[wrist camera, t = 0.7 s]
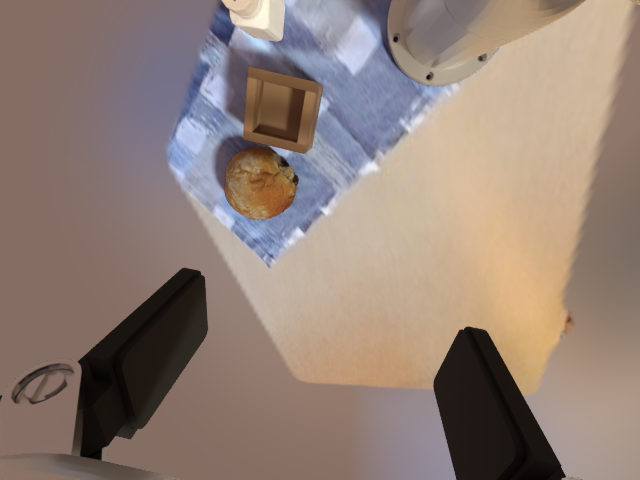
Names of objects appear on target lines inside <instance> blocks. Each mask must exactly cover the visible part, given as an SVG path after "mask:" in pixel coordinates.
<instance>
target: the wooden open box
mask: <svg viewBox="0 0 640 480" xmlns="http://www.w3.org/2000/svg"><path fill="white" fill-rule="evenodd" d="M322 91H323V86H322V85H320V84H319V83H317V82H314V81H309V80H305V79H301V78H296V77H292V76H288V75H284V74H279V73H275V72H271V71H266V70H262V69H258V68H253V67H248V80H247V93H246V106H245V119H244V132H243V139H244V140H248V141H253V142H257V143H261V144H265V145H269V146H273V147H278V148H282V149H286V150H290V151H294V152H298V153H303V154H305V153H306V152H307V151H308V150H310V149H311V148H312V145H313V139H314V134H315V129H316V123H317V118H318V113H319V107H320V102H321V97H322Z"/></svg>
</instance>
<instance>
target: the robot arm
mask: <svg viewBox="0 0 640 480" xmlns="http://www.w3.org/2000/svg"><path fill="white" fill-rule="evenodd" d="M584 1H585V0H391V4H390V8H389V12H388V21H387V36H388V43H389V47H390V52H391V54H392V56H393V58H394V61H395V63H396V64H397V65H398V67H399V68H400V70H401V71H402V72H403V73H404V74H405V75H407V76H408V77H409V78H410V79H412V80H414V81H416V82H417V83H421V84H424V85H427V86H444V85H450V84H453V83H457V82H459V81H461V80H463V79H466V78H468V77H470V76H471V75H473V74H474V73H476V72H477V71H479V70H480V69H481V68H482V67H483V66H484V65H485V64H487V63H488V62H489V61H490V59H491V58H492V57H493V56H494V54H495V53H496V52H497V51H498V49H499V48H500V47H501V46H503V45H506V44H508V43H510V42H512V41H515V40H517V39H519V38H521V37H523V36H526V35H528V34H530V33H532V32H535V31H537V30H539V29H541V28H543V27H545V26H547V25H549V24H551V23H553V22H555V21H557V20H558V19H560V18H562V17H564V16H565V15H567V14H568V13H570V12H571V11H573V10H574V9H575V8H577V7H578V6H579V5H581V4H582V3H583V2H584ZM631 1H632V2H634V3H635V4H638V5H640V0H631ZM394 37H397V38H398V41H397V42H394V41H393V38H394ZM479 56H481V57H482V59H481V61H479V60H478V57H479ZM427 75H430V79H429V80H427V79H426V76H427ZM207 324H208V323H207V306H206V288H205V277H204V276H202V275H201V272H200V271H198V270H193V269H188V268H182V269H181V270H180V271H179V272H177V273H176V274H175V275H174V276H173V277H172V278H171V279H170V280H168V281H167V282H166V283H165V284H164V285H163V286H162V287H161V288H160V289H158V290H157V291H156V292H155V293H154V294H153V295H152V296H151V297H150V298H148V299H147V300H146V301H145V302H144V303H143V304H141V305H140V306H139V307H138V308H137V309H136V310H135V311H134V312H133V313H131V314H130V315H129V316H128V317H127V318H126V319H125V320H124V321H122V322H121V323H120V324H119V325H118V326H117V327H116V328H115V329H114V330H112V331H111V332H110V333H109V334H108V335H107V336H106V337H105V338H104V339H103V340H101V341H100V342H99V343H98V344H97V345H96V346H95V347H93V349H91V350H90V351H89V352H88V353H87V354H86V355H85V356H84V357H82V358H81V359H80V360H79V361H78V362H77V361H74V360H72V359H55V360H50V361H47V362H44V363H41V364H38V365H36V366H34V367H32V368H31V369H29V370H27V371H25V372H24V373H22V374H21V375H20V376H18V377H17V378H15V379H14V380H13V381H12V383H11V384H10V385H9V386H8V387H7V389H6V390H5V392H4V393H3V395H1V396H0V480H181V479H178V478H174V477H170V476H166V475H161V474H158V473H154V472H150V471H145V470H141V469H136V468H132V467H127V466H123V465H118V464H114V463H110V462H106V459H107V446H108V445H109V444H110V442H111V441H112V440H113V438H114V437H115V436H119V437H123V438H127V439H131V438H132V437H133V435H134V434H135V432H136V431H137V429H142V428H143V427H144V426H145V425H146V424H147V423H148V421H149V420H150V418H151V417H152V415H153V414H154V412H155V411H156V409H157V408H158V406H159V405H160V404H161V402H162V400H163V399H164V397H165V396H166V394H167V393H168V392H169V390H170V389H171V387H172V386H173V384H174V383H175V381H176V380H177V379H178V377H179V375H180V374H181V373H182V371H183V370H184V368H185V367H186V365H187V364H188V362H189V361H190V359H191V358H192V356H193V355H194V353H195V352H196V350H197V349H198V348H199V346H200V345H201V343H202V342H203V340H204V339H205V337H206V335H207V331H208V325H207ZM434 392H435V396H436V400H437V404H438V407H439V412H440V416H441V420H442V424H443V427H444V431H445V436H446V439H447V444H448V448H449V452H450V455H451V460H452V463H453V467H454V471H455V475H456V479H457V480H582V479H579V478H576V477H569V476H568V477H566V476H565V474H564V472H563V470H562V468H561V464H560V463H559V461H558V459H557V457H556V455H555V453H554V452H553V450H552V448H551V446H550V444H549V443H548V441H547V439H546V437H545V435H544V433H543V432H542V430H541V428H540V426H539V424H538V423H537V421H536V419H535V417H534V415H533V414H532V412H531V410H530V408H529V406H528V404H527V403H526V401H525V399H524V397H523V395H522V394H521V392H520V390H519V388H518V386H517V385H516V383H515V381H514V379H513V377H512V376H511V374H510V372H509V370H508V368H507V366H506V365H505V363H504V361H503V359H502V357H501V356H500V354H499V352H498V350H497V348H496V347H495V345H494V343H493V341H492V339H491V338H490V336H489V334H488V332H487V331H485V330H483V329H478V328H473V327H466V328H465V329H464V330H459V332H458V334H457V336H456V338H455V340H454V342H453V344H452V345H451V347H450V349H449V351H448V353H447V355H446V357H445V359H444V361H443V363H442V365H441V367H440V369H439V371H438V373H437V375H436V377H435V379H434Z"/></svg>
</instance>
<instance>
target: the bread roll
mask: <svg viewBox="0 0 640 480" xmlns="http://www.w3.org/2000/svg"><path fill="white" fill-rule="evenodd" d="M225 176H226V179H225V197H226V199H227V201H228V203H229V204H230V205H231V206H232V207H233V209H235V210H236V211H237V212H239V213H240V214H241V215H244V216H246V217H247V218H250V219H257V220H259V219H267V218H272V217H274V216H277V215H279V214H280V213H282V212H284V210H285V209H287V208H288V207H289V206H291V204H292V203H293V200H294V197H295V193H296V190H297V184H298V181H299V179H298V176H297V175H295V174H294V170H293V168H292V167H291V166H289V164H288V163H287V162H285V161H283V160H282V159H281V158H280V156H279V155H278V154H276V153H275V152H273V151H271V150H270V149H267V148H263V147H253V148H251V149H245V150H242V151H240V152H238V153H236V154H235V155H234V157H233V158H232V160H231V161H230V162H229V164H228V166H227V168H226V175H225Z"/></svg>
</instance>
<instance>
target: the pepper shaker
mask: <svg viewBox="0 0 640 480" xmlns="http://www.w3.org/2000/svg"><path fill="white" fill-rule="evenodd" d="M222 2H223V3H224V5H225V6H226V7H227V8H228V9H229V10H230V18H231V21H232V23H233V24H234V25H236V26H237V27H239V28H240V29H242V30H243V31H245V32H246V33H248V34H249V35H251V36H252V37H253V38H257V39H264V40H270V41H277V42H278V41H281V39H282V37H283V28H284V13H285V3H284V0H222Z"/></svg>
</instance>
